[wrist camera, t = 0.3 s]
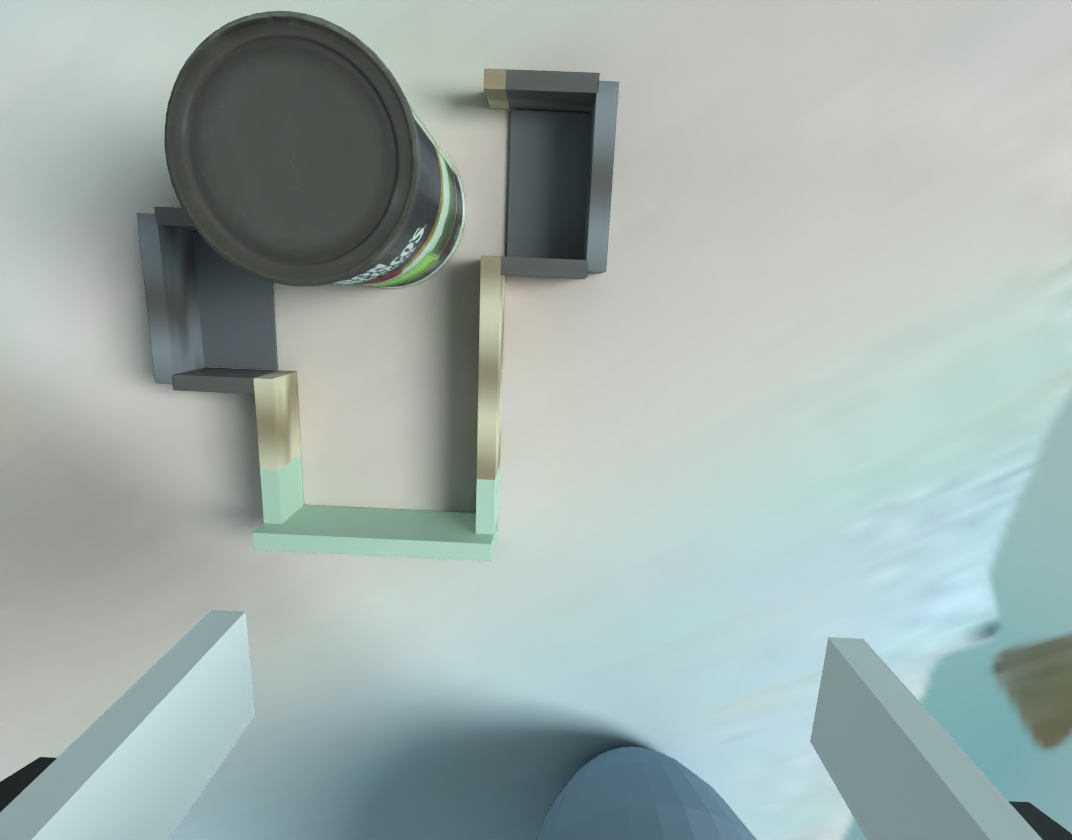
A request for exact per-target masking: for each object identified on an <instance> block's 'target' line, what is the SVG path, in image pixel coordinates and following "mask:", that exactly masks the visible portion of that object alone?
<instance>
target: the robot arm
mask: <svg viewBox="0 0 1072 840" xmlns="http://www.w3.org/2000/svg"><path fill="white" fill-rule="evenodd" d="M254 716H255V710H254V700H253V689H252V678H251V668H250V657H249V646H248V636H247V625H246V615H245V612H238V611H216V610H212V611H210V612H209V613H208V614H207V615H206V616H205V617H204V618H203V619H202V620H201V621H200V622H199V623H198V624H197V625H196V626H195V627H194V628H193V629H192V630H191V631H190V632H189V633H187V634H186V635H185V636H184V637H183V638H182V639H181V640H180V641H179V642H178V643H177V644H176V645H175V646H174V647H173V648H172V649H171V650H170V651H169V652H168V653H167V654H166V655H164V656H163V657H162V658H161V659H160V660H159V661H158V662H157V663H156V664H155V665H154V666H153V667H152V668H151V669H150V670H149V671H148V672H147V673H146V674H145V675H144V676H143V677H141V678H140V679H139V680H138V681H137V682H136V683H135V684H134V685H133V686H132V687H131V688H130V689H129V690H128V691H127V692H126V693H125V694H124V695H123V696H122V697H121V698H120V699H118V700H117V701H116V702H115V703H114V704H113V705H112V706H111V707H110V708H109V709H108V710H107V711H106V712H105V713H104V714H103V715H102V716H101V717H100V718H99V719H98V720H97V721H95V722H94V723H93V724H92V725H91V726H90V727H89V728H88V729H87V730H86V731H85V732H84V733H83V734H82V735H81V736H80V737H79V738H78V739H77V740H76V741H75V742H74V743H72V744H71V745H70V746H69V747H68V748H67V749H66V750H65V751H64V752H63V753H62V754H61V755H60V756H59V757H58V758H47V757H40V758H38V759H36V760H35V761H33V762H32V763H30V764H28V765H27V766H25V767H24V768H22V769H20V770H19V771H17V772H16V773H14V774H12V775H11V776H9V777H7V778H6V779H4V780H3V781H1V782H0V840H170V838H171V837H172V836H173V834H174V833H175V831H176V830H177V828H178V827H179V825H180V824H181V822H182V821H183V820H184V818H185V817H186V815H187V814H188V812H189V811H190V809H191V808H192V806H193V805H194V804H195V802H196V801H197V799H198V798H199V796H200V795H201V793H202V792H203V790H204V789H205V788H206V786H207V785H208V783H209V782H210V780H211V779H212V777H213V776H214V774H215V773H216V772H217V770H218V769H219V767H220V766H221V764H222V763H223V761H224V760H225V758H226V757H227V756H228V754H229V753H230V751H231V750H232V748H233V747H234V745H235V744H236V742H237V741H238V740H239V738H240V737H241V735H242V734H243V732H244V731H245V729H246V728H247V726H248V725H249V724H250V722H251V721H252V719H253V718H254ZM810 742H811V743H812V745H813V747H814V749H815V750H816V752H817V754H818V756H819V757H820V759H821V761H822V762H823V764H824V766H825V768H826V769H827V771H828V773H829V775H830V776H831V778H832V780H833V782H834V783H835V785H836V787H837V788H838V790H839V792H840V794H841V795H842V797H843V799H844V801H845V802H846V804H847V806H848V808H849V809H850V811H851V813H852V815H853V816H854V818H855V820H856V821H857V823H858V825H859V827H860V828H861V830H862V832H863V833H864V835H865V837H866V839H867V840H1072V834H1071V833H1070V832H1069V831H1067V830H1066V829H1065V828H1063V827H1062V826H1060V825H1059V824H1058V823H1056V822H1055V821H1054V820H1052V819H1051V818H1050V817H1048V816H1047V815H1046V814H1044V813H1043V812H1041V811H1040V810H1039V809H1037V808H1036V807H1035V806H1033V805H1032V804H1031V803H1028V802H1010V801H1007V799H1006V798H1005V797H1004V796H1003V795H1002V794H1001V793H1000V791H999V790H998V789H997V788H996V787H995V786H994V785H993V784H992V783H991V782H990V780H989V779H988V778H987V777H986V776H985V775H984V774H983V772H982V771H981V770H980V769H979V768H978V767H977V766H976V765H975V764H974V763H973V761H972V760H971V759H970V758H969V757H968V756H967V755H966V753H965V752H964V751H963V750H962V749H961V748H960V747H959V746H958V745H957V744H956V742H955V741H954V740H953V739H952V738H951V737H950V736H949V735H948V733H947V732H946V731H945V730H944V729H943V728H942V727H941V726H940V724H939V723H938V722H937V721H936V720H935V719H934V718H933V717H932V716H931V714H930V713H929V712H928V711H927V710H926V709H925V708H924V707H923V705H922V704H921V703H920V702H919V701H918V700H917V699H916V698H915V697H914V695H913V694H912V693H911V692H910V691H909V690H908V689H907V688H906V686H905V685H904V684H903V683H902V682H901V681H900V680H899V679H898V678H897V676H896V675H895V674H894V673H893V672H892V671H891V670H890V669H889V667H888V666H887V665H886V664H885V663H884V662H883V661H882V660H881V659H880V657H879V656H878V655H877V654H876V653H875V652H874V651H873V650H872V648H871V647H870V646H869V645H868V644H867V643H866V642H865V641H864V640H863V639H852V638H829V637H828V643H827V649H826V654H825V660H824V666H823V672H822V677H821V683H820V689H819V695H818V700H817V706H816V712H815V717H814V723H813V729H812V735H811V740H810Z"/></svg>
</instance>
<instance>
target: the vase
mask: <svg viewBox="0 0 1072 840" xmlns="http://www.w3.org/2000/svg"><path fill="white" fill-rule="evenodd" d="M536 840H757V839H756V838H755V837H754V836H753V835H752V833H751V832H750V831H749V830H748V829H747V827H746V826H745V825H744V824H743V823H742V821H741V820H740V819H739V818H738V817H737V815H736V814H735V813H734V812H733V811H732V809H731V808H730V807H729V806H728V804H727V803H726V802H725V801H724V800H723V799H722V797H721V796H720V795H719V794H718V793H717V792H716V791H715V790H714V789H713V788H712V787H711V786H710V785H709V784H707V783H706V782H705V781H703V780H702V779H701V778H699V777H698V776H697V775H695V774H694V773H693V772H691V771H690V770H689V769H687V768H686V767H685V766H683V765H682V764H680V763H679V762H678V761H676V760H675V759H673V758H671V757H668V756H666V755H664V754H662V753H659V752H656V751H653V750H649V749H646V748H642V747H632V746H631V747H619V748H615V749H611V750H608V751H606V752H604V753H602V754H600V755H598V756H597V757H595V758H594V759H592V760H591V761H589V762H588V763H586V764H585V765H583V766H582V767H581V768H580V769H579V770H578V771H577V772H576V773H575V774H574V775H573V776H572V778H571V779H570V780H569V782H568V783H567V785H566V786H565V787H564V789H563V790H562V791H561V793H560V794H559V795H558V797H557V798H556V800H555V801H554V803H553V804H552V806H551V807H550V809H549V810H548V812H547V814H546V817H545V819H544V822H543V824H542V827H541V829H540V832H539V834H538V837H537V839H536Z"/></svg>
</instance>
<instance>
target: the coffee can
mask: <svg viewBox="0 0 1072 840" xmlns="http://www.w3.org/2000/svg"><path fill="white" fill-rule="evenodd" d="M165 153H166V160H167V166H168V170H169V174H170V178H171V182H172V185H173V188H174V190H175V193H176V195H177V198H178V200H179V202H180V204H181V206H182V208H183V209H184V211H185V213H186V215H187V217H188V218H189V220H190V221H191V223H192V224H193V226H194V227H195V228H196V230H197V231H198V232H199V234H200V235H201V236H202V238H203V239H204V240H205V241H206V242H207V243H208V244H209V245H210V246H211V247H212V248H213V249H214V250H215V251H216V252H217V253H218V254H220V255H221V256H222V257H223V258H225V259H226V260H227V261H229V262H230V263H232V264H233V265H234V266H236V267H238V268H240V269H242V270H243V271H245V272H247V273H250V274H252V275H254V276H256V277H259V278H262V279H264V280H267V281H270V282H275V283H279V284H283V285H291V286H318V285H325V284H336V285H362V286H374V287H379V288H402V287H408V286H411V285H415V284H418V283H420V282H422V281H424V280H426V279H428V278H430V277H431V276H432V275H434V274H435V273H436V272H438V271H439V270H440V269H441V268H442V267H443V266H444V265H445V264H446V263H447V261H448V260H449V259H450V257H451V256H452V254H453V253H454V251H455V249H456V247H457V245H458V243H459V241H460V238H461V236H462V232H463V228H464V222H465V197H464V192H463V187H462V184H461V181H460V177H459V175H458V173H457V170H456V168H455V167H454V165H453V163H452V162H451V160H450V159H449V157H448V156H447V154H446V153H445V152H444V151H443V150H442V148H441V147H440V146H439V145H438V144H437V142H436V141H435V140H434V138H433V137H432V135H431V134H430V132H429V131H428V129H427V128H426V127H425V125H424V124H423V123H422V121H421V120H420V118H419V117H418V116H417V114H416V113H415V111H414V110H413V109H412V107H411V106H410V104H409V103H408V101H407V99H406V97H405V95H404V93H403V92H402V90H401V88H400V86H399V84H398V83H397V81H396V79H395V78H394V76H393V75H392V73H391V72H390V70H389V69H388V68H387V67H386V66H385V64H384V63H383V62H382V61H381V60H380V58H379V57H378V56H377V55H376V54H375V53H374V52H373V51H372V50H371V49H370V48H369V47H368V46H366V45H365V44H364V43H363V42H362V41H360V40H359V39H358V38H357V37H356V36H354V35H353V34H351V33H350V32H348V31H346V30H345V29H343V28H341V27H339V26H337V25H335V24H333V23H331V22H329V21H326V20H324V19H322V18H319V17H315V16H311V15H307V14H303V13H297V12H290V11H273V12H263V13H256V14H252V15H250V16H245V17H242V18H239V19H237V20H234V21H232V22H230V23H227V24H226V25H224V26H222V27H221V28H220V29H218V30H216V31H215V32H213V33H212V34H211V35H210V36H209V37H207V38H206V39H205V40H204V41H203V42H202V43H201V44H200V45H199V46H198V47H197V48H196V49H195V51H194V52H193V53H192V54H191V56H190V57H189V58H188V59H187V61H186V62H185V64H184V66H183V67H182V69H181V71H180V72H179V75H178V77H177V79H176V82H175V84H174V87H173V90H172V92H171V96H170V99H169V102H168V108H167V113H166V123H165Z"/></svg>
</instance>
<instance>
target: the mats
mask: <svg viewBox="0 0 1072 840" xmlns="http://www.w3.org/2000/svg"><path fill="white" fill-rule="evenodd" d="M591 122H592V113H574V112H548V111H522V110H511V127H510V162H509V196H508V231H507V257H525V258H549V259H572V260H584V243H585V225H586V208H587V191H588V174H589V157H590V139H591ZM192 235H193V246H194V257H195V268H196V279H197V290H198V301H199V312H200V323H201V334H202V345H203V356H204V366H208V367H231V368H253V369H276V370H277V369H278V362H277V345H276V329H275V313H274V296H273V282H270V281H267V280H264V279H262V278H259V277H256V276H254V275H252V274H250V273H247V272H245V271H243V270H242V269H240V268H238V267H236V266H234V265H233V264H232V263H230V262H229V261H227V260H226V259H225V258H223V257H222V256H221V255H220V254H218V253H217V252H216V251H215V250H214V249H213V248H212V247H211V246H210V245H209V244H208V243H207V242H206V241H205V240H204V239H203V238H202V236H201V235H200V234H199V232H192Z"/></svg>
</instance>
